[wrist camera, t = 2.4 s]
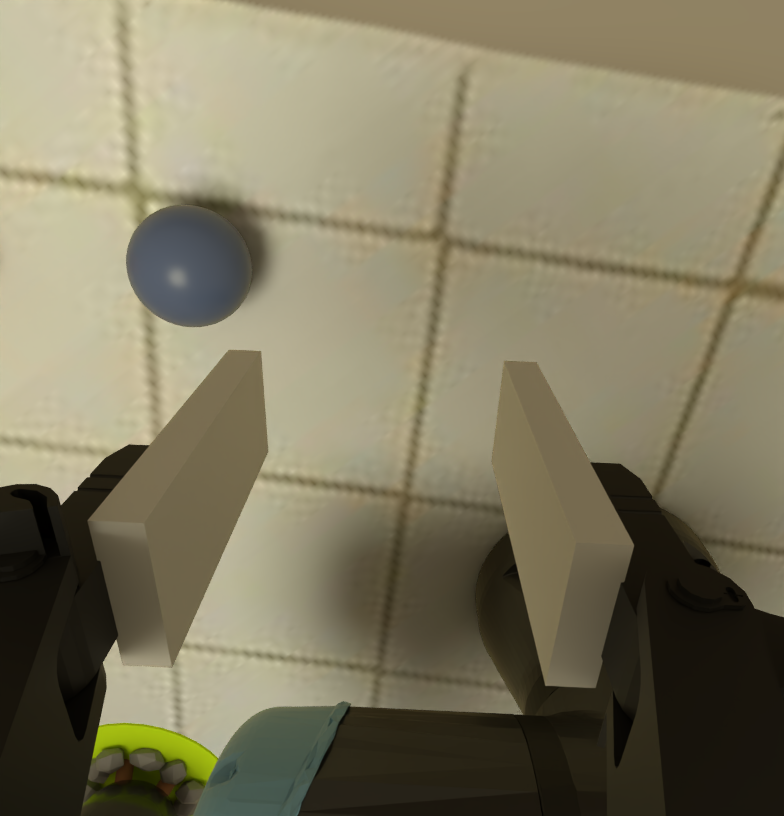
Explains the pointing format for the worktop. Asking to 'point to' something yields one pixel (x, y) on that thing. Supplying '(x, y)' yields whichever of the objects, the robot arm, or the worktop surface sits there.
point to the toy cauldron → (145, 772)
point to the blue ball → (189, 265)
